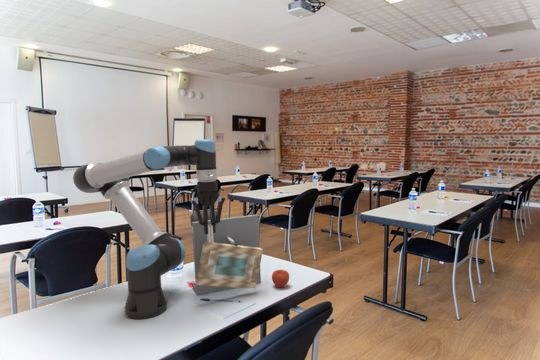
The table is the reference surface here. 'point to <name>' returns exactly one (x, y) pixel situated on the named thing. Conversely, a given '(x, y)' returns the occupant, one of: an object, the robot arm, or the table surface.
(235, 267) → the frame
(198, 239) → the panel
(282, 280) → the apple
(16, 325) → the table surface
